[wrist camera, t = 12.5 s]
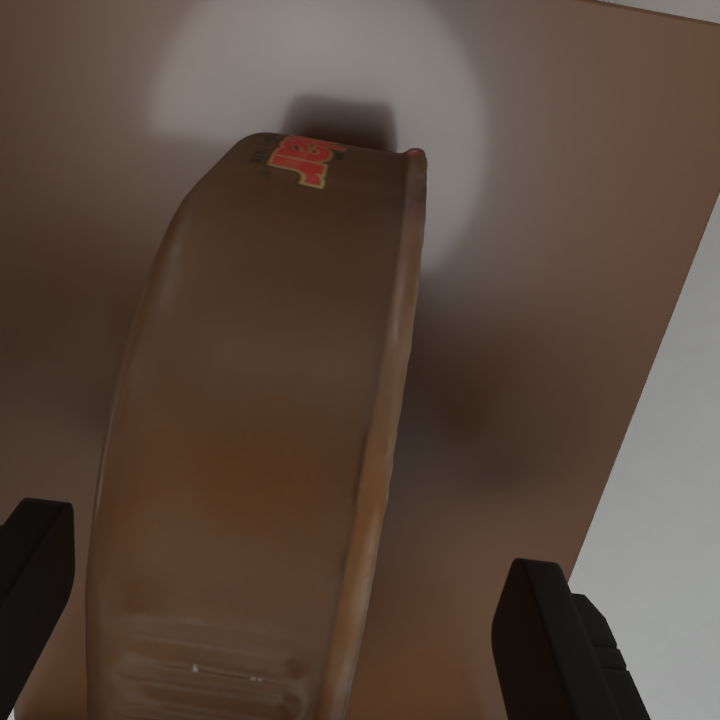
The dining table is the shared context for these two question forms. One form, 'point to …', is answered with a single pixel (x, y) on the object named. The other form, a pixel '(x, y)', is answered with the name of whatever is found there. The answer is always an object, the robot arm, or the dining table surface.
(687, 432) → the dining table surface
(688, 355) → the dining table surface
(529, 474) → the chair
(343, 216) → the tin
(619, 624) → the dining table surface
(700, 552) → the dining table surface
